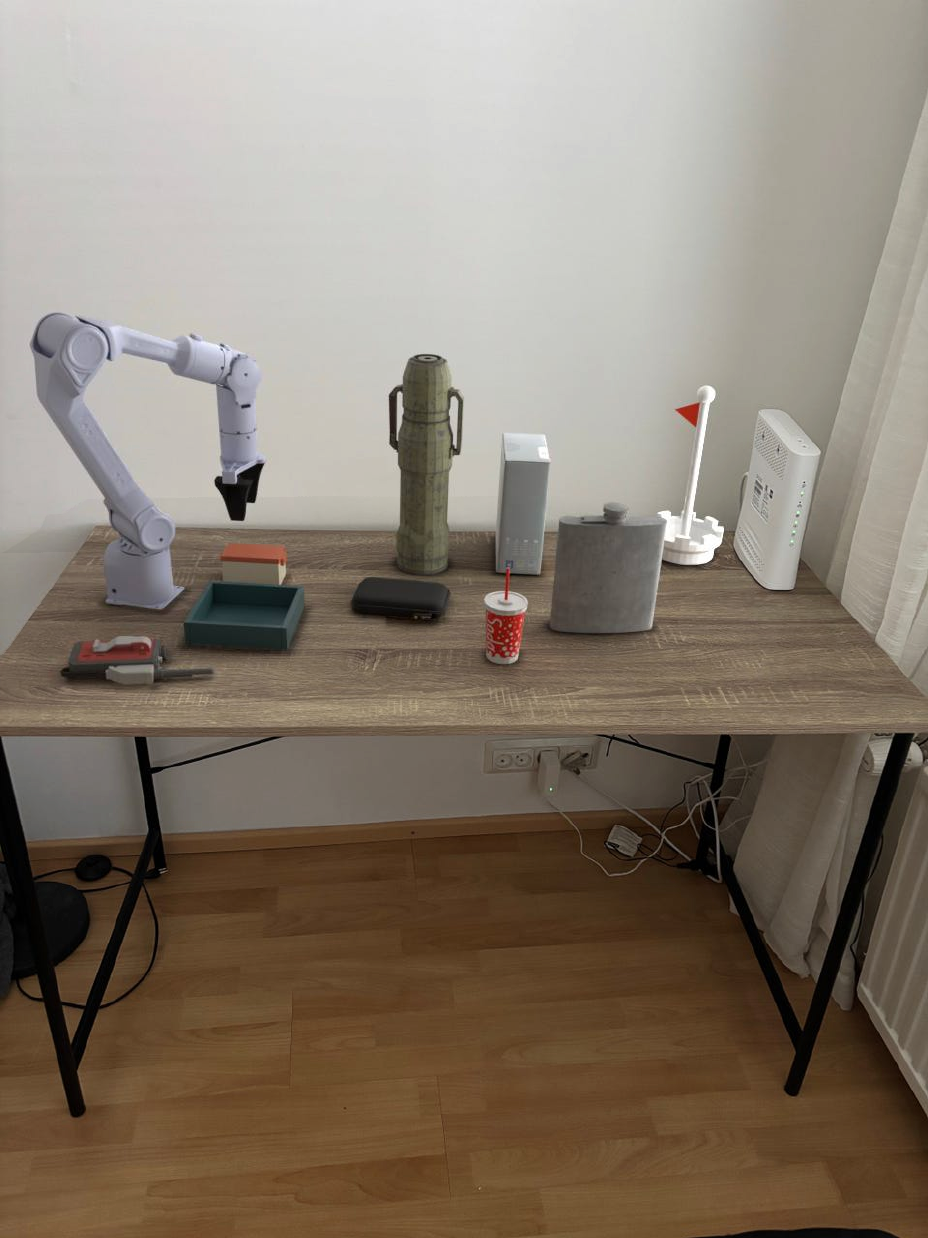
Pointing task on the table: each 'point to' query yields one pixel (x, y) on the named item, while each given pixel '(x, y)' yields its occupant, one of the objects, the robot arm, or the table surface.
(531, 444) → the hard drive box
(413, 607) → the carrying case
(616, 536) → the hip flask
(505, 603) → the beverage cup
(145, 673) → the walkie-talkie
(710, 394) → the flag stand
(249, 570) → the lunchbox
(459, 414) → the thermos
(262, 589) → the tray
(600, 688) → the table surface
